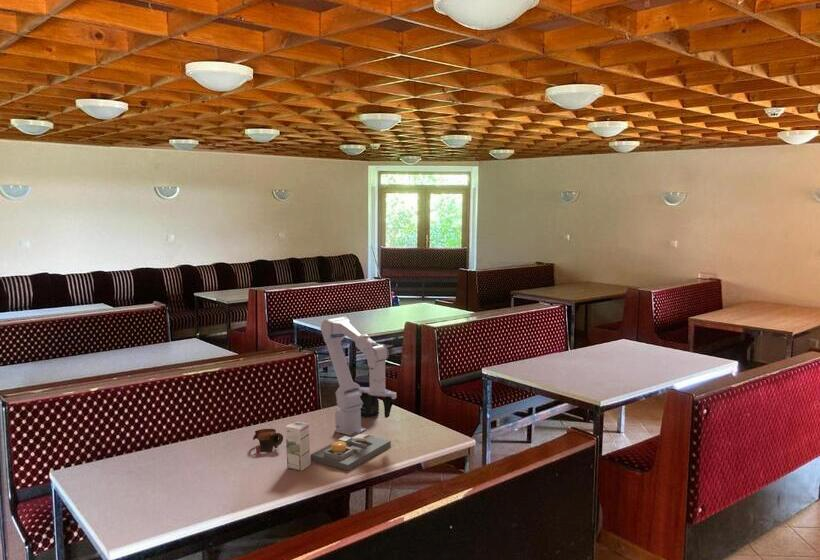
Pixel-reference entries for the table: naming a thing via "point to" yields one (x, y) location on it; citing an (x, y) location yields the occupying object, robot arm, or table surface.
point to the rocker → (362, 437)
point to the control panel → (351, 452)
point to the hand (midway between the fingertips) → (377, 415)
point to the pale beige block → (346, 440)
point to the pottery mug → (267, 440)
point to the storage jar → (365, 382)
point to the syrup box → (298, 445)
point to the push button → (338, 447)
